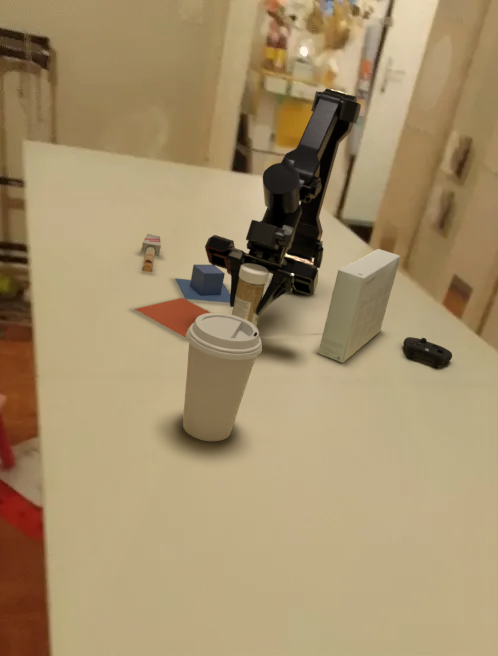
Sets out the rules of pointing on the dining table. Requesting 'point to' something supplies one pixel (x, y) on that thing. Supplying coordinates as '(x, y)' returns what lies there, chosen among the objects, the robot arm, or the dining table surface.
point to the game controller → (426, 351)
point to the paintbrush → (150, 250)
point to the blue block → (207, 279)
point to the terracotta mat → (174, 314)
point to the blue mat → (193, 295)
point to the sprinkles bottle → (249, 291)
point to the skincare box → (358, 304)
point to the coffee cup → (217, 373)
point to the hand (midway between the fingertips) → (244, 310)
